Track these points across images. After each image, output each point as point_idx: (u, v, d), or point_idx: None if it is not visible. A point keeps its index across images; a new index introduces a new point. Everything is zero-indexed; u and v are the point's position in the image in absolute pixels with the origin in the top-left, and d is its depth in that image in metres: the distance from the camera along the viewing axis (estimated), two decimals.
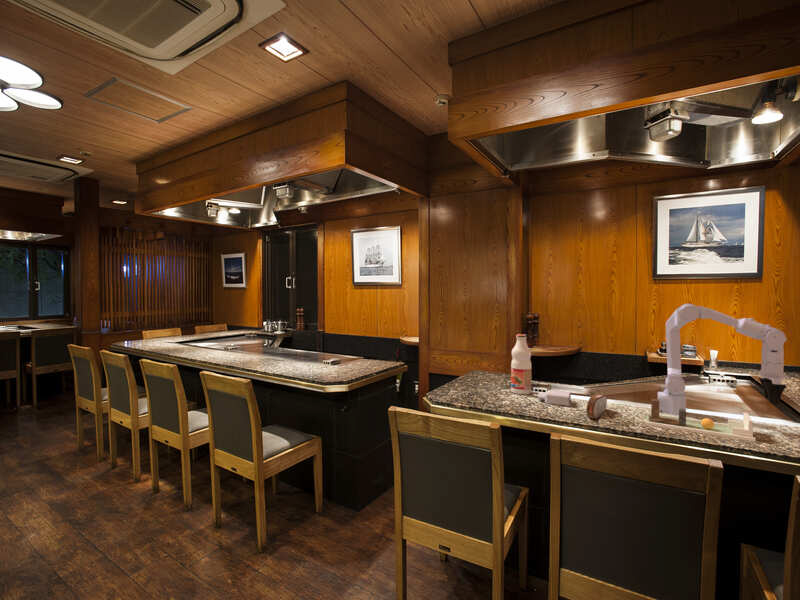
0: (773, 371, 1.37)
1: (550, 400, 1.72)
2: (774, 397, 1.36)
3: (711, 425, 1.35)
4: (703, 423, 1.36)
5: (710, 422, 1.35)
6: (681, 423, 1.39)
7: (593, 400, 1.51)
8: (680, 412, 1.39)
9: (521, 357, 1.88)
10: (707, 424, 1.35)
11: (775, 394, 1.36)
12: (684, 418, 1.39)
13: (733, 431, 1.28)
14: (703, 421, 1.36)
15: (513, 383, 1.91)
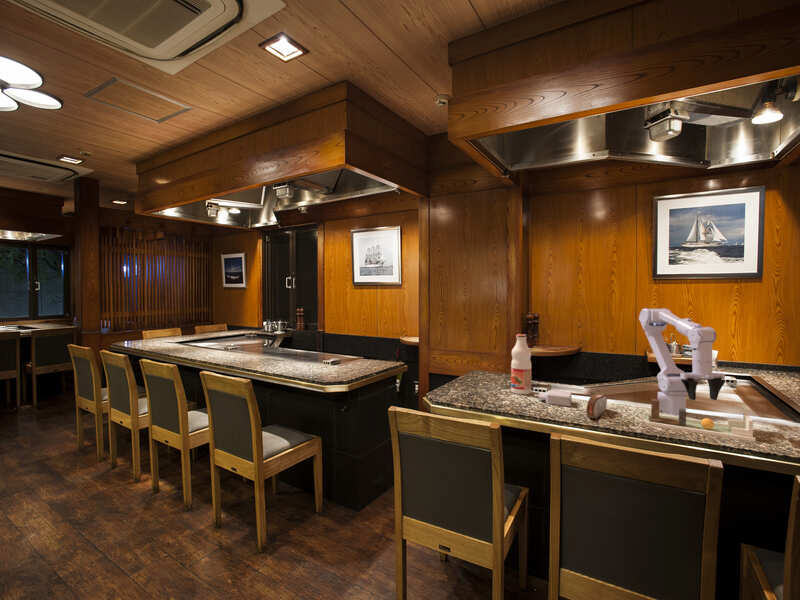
0: (694, 368, 1.42)
1: (551, 400, 1.72)
2: (690, 393, 1.42)
3: (711, 425, 1.35)
4: (703, 423, 1.36)
5: (710, 422, 1.35)
6: (681, 423, 1.39)
7: (593, 400, 1.51)
8: (680, 412, 1.39)
9: (521, 357, 1.88)
10: (707, 424, 1.35)
11: (691, 390, 1.42)
12: (684, 418, 1.39)
13: (733, 431, 1.28)
14: (703, 421, 1.36)
15: (513, 383, 1.91)
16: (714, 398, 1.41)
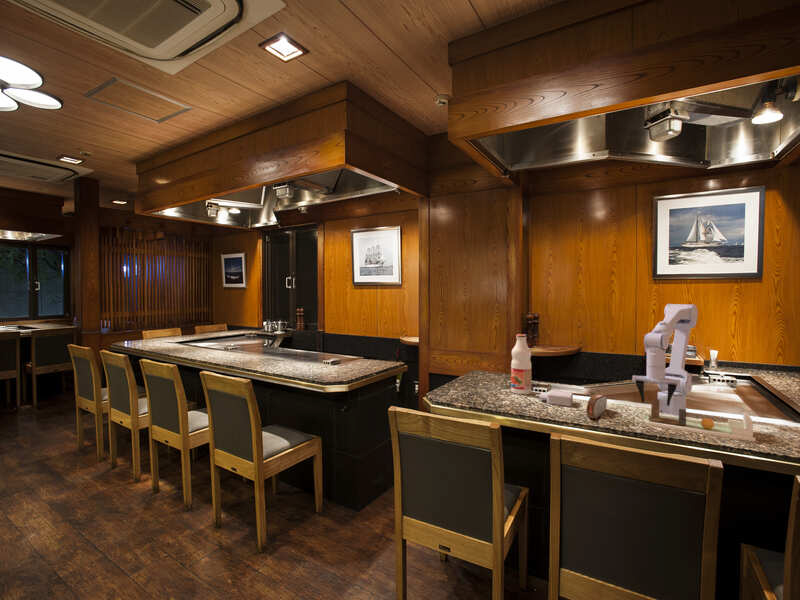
0: None
1: (552, 400, 1.72)
2: None
3: (711, 425, 1.35)
4: (703, 423, 1.36)
5: (710, 422, 1.35)
6: (681, 423, 1.39)
7: (593, 400, 1.51)
8: (680, 412, 1.39)
9: (521, 357, 1.88)
10: (707, 424, 1.35)
11: None
12: (684, 418, 1.39)
13: (733, 431, 1.28)
14: (703, 421, 1.36)
15: (513, 383, 1.91)
16: (667, 404, 1.42)
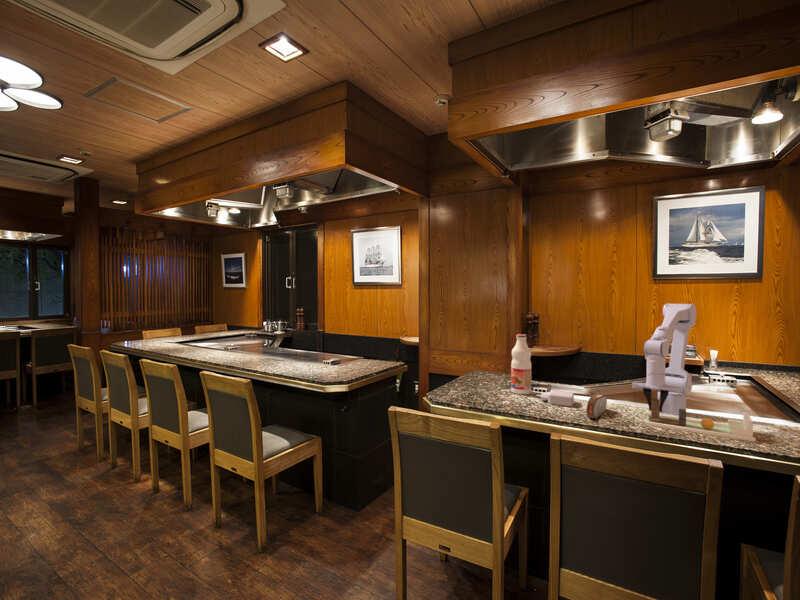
0: None
1: (553, 401, 1.71)
2: None
3: (711, 425, 1.35)
4: (703, 423, 1.36)
5: (710, 422, 1.35)
6: (681, 423, 1.39)
7: (593, 400, 1.51)
8: (680, 412, 1.39)
9: (521, 357, 1.88)
10: (707, 424, 1.35)
11: None
12: (684, 418, 1.39)
13: (733, 431, 1.28)
14: (703, 421, 1.36)
15: (513, 383, 1.91)
16: (659, 410, 1.43)
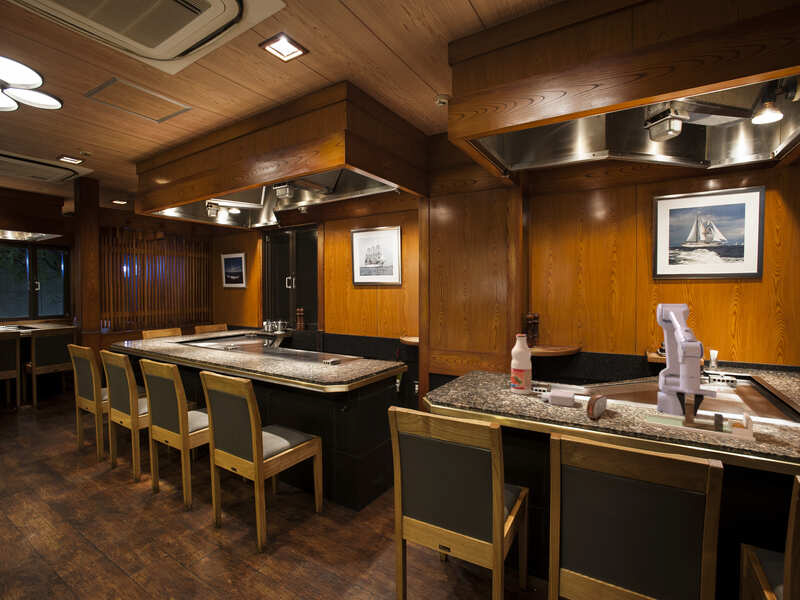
0: (679, 383, 1.41)
1: (554, 401, 1.71)
2: (682, 407, 1.40)
3: (737, 426, 1.31)
4: None
5: None
6: (718, 428, 1.33)
7: (593, 401, 1.51)
8: (716, 417, 1.34)
9: (521, 357, 1.88)
10: None
11: None
12: (721, 423, 1.33)
13: (733, 431, 1.28)
14: None
15: (513, 383, 1.91)
16: None
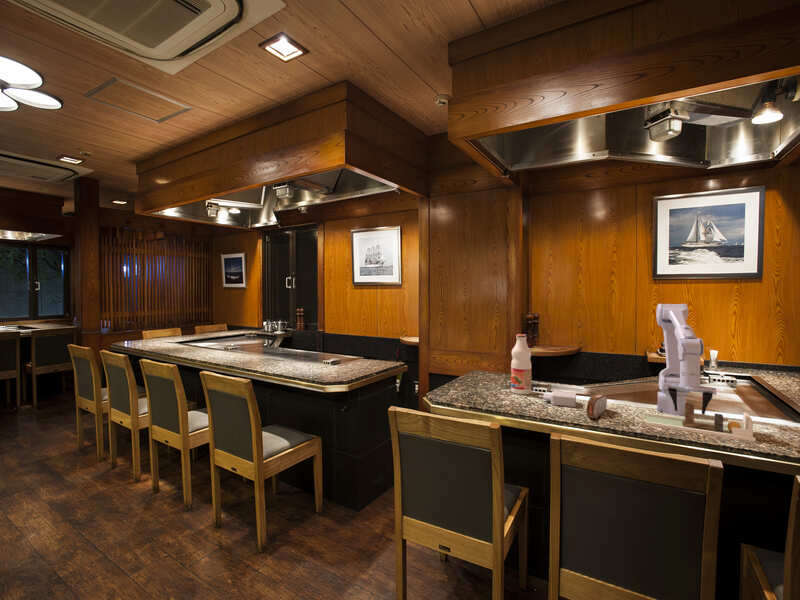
0: (679, 379, 1.41)
1: (556, 401, 1.70)
2: (674, 403, 1.42)
3: (732, 426, 1.32)
4: None
5: (730, 428, 1.32)
6: (718, 428, 1.33)
7: (593, 401, 1.51)
8: (716, 417, 1.34)
9: (521, 357, 1.88)
10: None
11: None
12: (721, 423, 1.33)
13: (733, 431, 1.28)
14: None
15: (513, 383, 1.91)
16: (702, 412, 1.37)
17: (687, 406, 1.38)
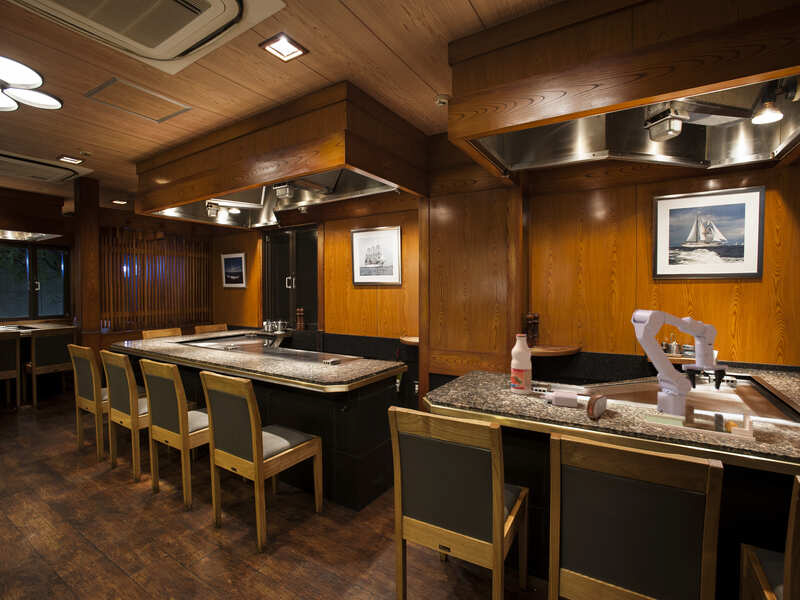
0: None
1: (558, 402, 1.69)
2: (692, 382, 1.59)
3: (728, 427, 1.32)
4: None
5: (728, 430, 1.32)
6: (718, 428, 1.33)
7: (593, 400, 1.51)
8: (716, 417, 1.34)
9: (521, 357, 1.88)
10: None
11: (692, 379, 1.59)
12: (721, 423, 1.33)
13: (733, 431, 1.28)
14: None
15: (513, 383, 1.91)
16: (717, 388, 1.55)
17: (687, 406, 1.38)
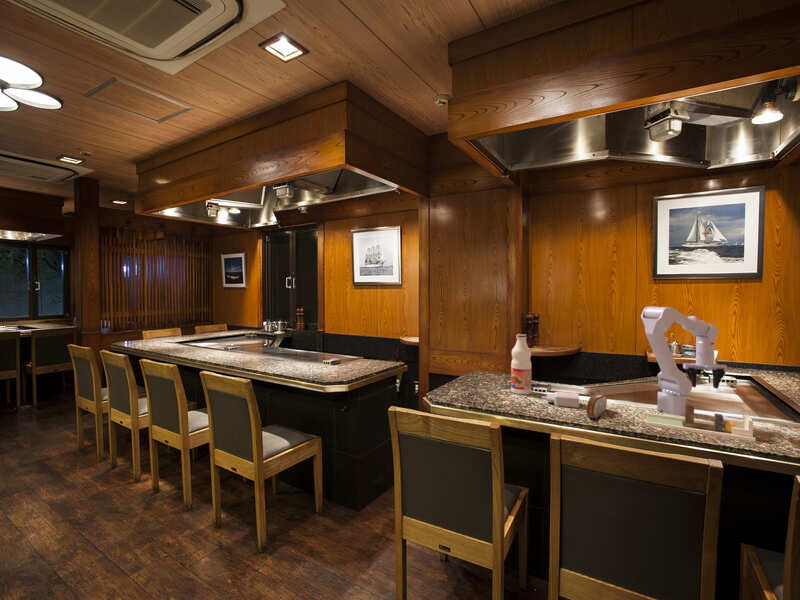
0: (696, 360, 1.60)
1: (560, 402, 1.69)
2: (692, 381, 1.61)
3: (726, 427, 1.32)
4: None
5: (727, 430, 1.32)
6: (718, 428, 1.33)
7: (593, 400, 1.51)
8: (716, 417, 1.34)
9: (521, 357, 1.88)
10: (730, 429, 1.32)
11: None
12: (721, 423, 1.33)
13: (733, 431, 1.28)
14: None
15: (513, 383, 1.91)
16: (715, 387, 1.58)
17: (687, 406, 1.38)
